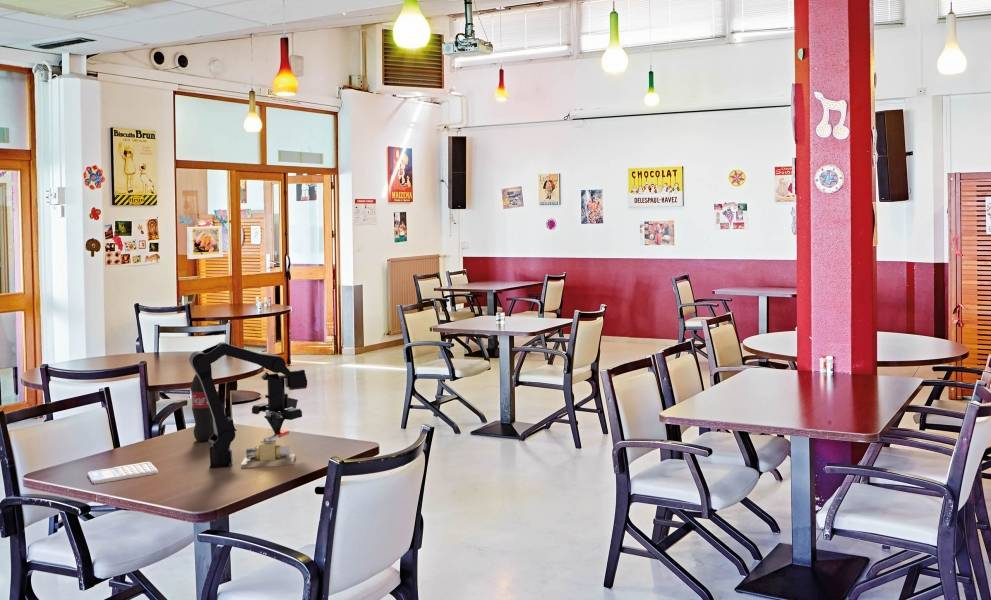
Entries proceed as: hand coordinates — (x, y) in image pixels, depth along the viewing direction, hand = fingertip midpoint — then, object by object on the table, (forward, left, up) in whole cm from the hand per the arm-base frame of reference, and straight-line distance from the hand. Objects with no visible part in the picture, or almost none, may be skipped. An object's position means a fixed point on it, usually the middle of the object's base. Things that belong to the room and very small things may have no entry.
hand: (277, 435), depth 317 cm
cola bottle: (-30, +30, -7) cm, 43 cm away
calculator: (-49, -11, -8) cm, 51 cm away
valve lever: (0, -4, 0) cm, 4 cm away
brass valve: (-2, -9, -6) cm, 11 cm away
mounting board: (-2, -9, -7) cm, 11 cm away
